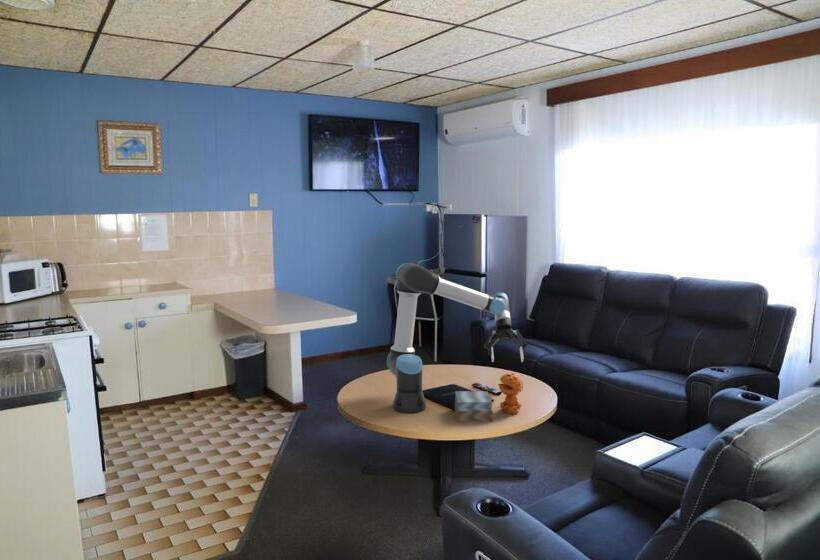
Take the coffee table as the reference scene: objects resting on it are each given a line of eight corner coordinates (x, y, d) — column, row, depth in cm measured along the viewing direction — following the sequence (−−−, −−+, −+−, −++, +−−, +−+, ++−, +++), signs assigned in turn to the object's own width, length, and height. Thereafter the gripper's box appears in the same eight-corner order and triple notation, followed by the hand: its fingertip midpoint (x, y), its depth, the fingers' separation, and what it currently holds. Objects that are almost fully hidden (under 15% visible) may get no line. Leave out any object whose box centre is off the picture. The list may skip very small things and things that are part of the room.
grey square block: (457, 421, 252) (457, 402, 251) (454, 409, 267) (454, 391, 266) (492, 421, 252) (492, 402, 251) (487, 409, 267) (488, 391, 266)
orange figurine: (496, 407, 270) (496, 368, 268) (520, 407, 270) (521, 368, 267) (499, 415, 259) (499, 375, 257) (524, 416, 259) (525, 376, 256)
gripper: (527, 325, 288) (533, 364, 275) (476, 326, 288) (480, 364, 275) (530, 317, 282) (536, 356, 269) (477, 318, 282) (481, 356, 269)
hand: (507, 360), depth 272 cm, fingers open, 13 cm apart
